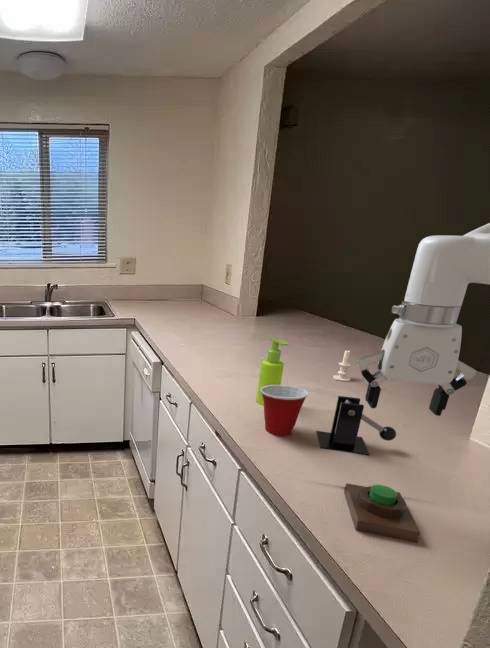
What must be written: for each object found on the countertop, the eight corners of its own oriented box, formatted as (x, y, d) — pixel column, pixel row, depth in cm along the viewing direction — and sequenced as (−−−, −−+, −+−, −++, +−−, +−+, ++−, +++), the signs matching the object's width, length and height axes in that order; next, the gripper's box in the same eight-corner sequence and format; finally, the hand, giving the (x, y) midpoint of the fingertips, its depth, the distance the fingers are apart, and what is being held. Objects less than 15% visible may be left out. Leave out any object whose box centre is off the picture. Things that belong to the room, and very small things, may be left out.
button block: (343, 492, 86) (347, 475, 84) (397, 502, 83) (402, 484, 81) (355, 530, 75) (360, 511, 74) (417, 543, 72) (423, 523, 71)
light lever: (386, 439, 101) (397, 429, 99) (390, 445, 98) (401, 435, 96) (337, 406, 102) (347, 396, 101) (339, 412, 99) (350, 402, 98)
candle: (352, 382, 144) (358, 352, 140) (334, 380, 146) (340, 350, 142) (349, 377, 149) (355, 348, 145) (331, 375, 150) (337, 346, 147)
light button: (366, 490, 80) (368, 482, 80) (392, 495, 79) (394, 487, 78) (371, 503, 77) (373, 494, 76) (398, 508, 75) (400, 499, 75)
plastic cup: (275, 421, 117) (281, 379, 112) (310, 438, 107) (318, 393, 103) (245, 429, 112) (250, 386, 108) (278, 447, 103) (286, 401, 99)
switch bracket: (360, 441, 106) (371, 396, 102) (369, 459, 98) (380, 411, 94) (315, 434, 109) (323, 391, 105) (319, 451, 101) (329, 405, 97)
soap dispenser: (265, 411, 122) (276, 343, 116) (251, 402, 129) (260, 336, 122) (283, 409, 124) (295, 341, 117) (268, 400, 130) (278, 335, 123)
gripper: (374, 315, 71) (352, 410, 77) (505, 322, 65) (470, 424, 71) (363, 307, 77) (343, 395, 83) (481, 313, 72) (451, 407, 78)
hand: (402, 409), depth 77 cm, fingers open, 9 cm apart
